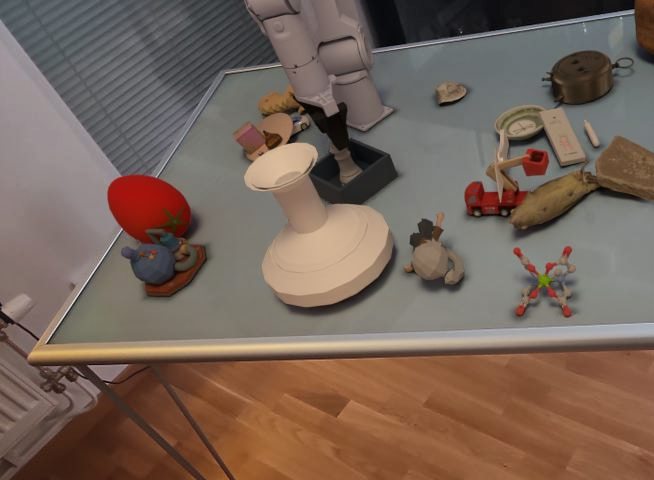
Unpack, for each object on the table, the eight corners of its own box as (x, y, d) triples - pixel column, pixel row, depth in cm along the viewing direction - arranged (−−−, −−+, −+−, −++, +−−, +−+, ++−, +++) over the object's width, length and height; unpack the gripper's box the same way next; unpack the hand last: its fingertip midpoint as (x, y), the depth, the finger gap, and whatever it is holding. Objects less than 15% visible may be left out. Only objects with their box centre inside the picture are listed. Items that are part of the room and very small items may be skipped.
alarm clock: (556, 113, 109) (644, 87, 109) (554, 84, 105) (645, 57, 105) (540, 85, 116) (622, 61, 116) (537, 57, 112) (622, 32, 112)
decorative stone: (711, 170, 90) (618, 166, 99) (706, 131, 85) (609, 131, 94) (683, 215, 86) (589, 206, 95) (677, 177, 81) (579, 172, 90)
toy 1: (261, 118, 137) (340, 78, 140) (272, 130, 128) (356, 87, 131) (248, 94, 133) (329, 54, 137) (258, 105, 124) (345, 62, 128)
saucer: (529, 110, 111) (527, 97, 110) (561, 129, 106) (560, 116, 104) (485, 135, 110) (483, 122, 108) (516, 155, 104) (514, 142, 102)
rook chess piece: (357, 191, 107) (339, 151, 101) (337, 188, 109) (319, 149, 103) (371, 175, 109) (354, 135, 103) (351, 173, 111) (333, 133, 105)
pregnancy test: (561, 167, 98) (561, 161, 97) (538, 116, 104) (539, 110, 103) (605, 157, 99) (606, 152, 98) (580, 108, 105) (581, 102, 104)
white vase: (274, 335, 89) (199, 234, 74) (280, 249, 102) (217, 148, 87) (405, 298, 88) (356, 187, 73) (395, 215, 101) (350, 107, 86)
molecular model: (523, 278, 85) (513, 236, 80) (580, 278, 83) (575, 235, 77) (513, 316, 81) (502, 276, 76) (573, 318, 79) (566, 276, 73)
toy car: (255, 148, 126) (249, 136, 124) (305, 120, 128) (300, 108, 126) (261, 154, 124) (254, 142, 122) (312, 125, 126) (306, 114, 124)
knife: (497, 121, 103) (503, 119, 102) (506, 147, 105) (511, 145, 105) (486, 173, 82) (493, 171, 81) (496, 203, 84) (504, 201, 84)
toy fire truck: (471, 203, 98) (456, 150, 91) (555, 202, 94) (547, 147, 86) (466, 217, 96) (450, 164, 89) (551, 216, 92) (542, 161, 84)
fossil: (433, 106, 118) (464, 113, 120) (437, 86, 116) (468, 93, 117) (433, 92, 124) (462, 98, 126) (436, 73, 122) (466, 80, 123)
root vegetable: (520, 232, 84) (508, 247, 89) (620, 176, 92) (604, 192, 97) (500, 202, 85) (488, 218, 89) (601, 148, 92) (586, 166, 97)
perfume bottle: (252, 172, 121) (236, 157, 117) (239, 139, 127) (223, 124, 124) (299, 134, 120) (284, 118, 116) (284, 103, 126) (269, 86, 122)
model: (179, 297, 100) (143, 254, 93) (136, 295, 102) (97, 254, 95) (215, 246, 106) (184, 203, 99) (173, 246, 109) (140, 204, 102)
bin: (312, 193, 110) (302, 172, 107) (360, 158, 114) (350, 137, 111) (349, 213, 104) (339, 191, 101) (398, 176, 108) (389, 153, 104)
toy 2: (421, 189, 91) (438, 230, 79) (467, 214, 95) (490, 257, 83) (387, 247, 95) (398, 294, 83) (432, 269, 99) (448, 317, 87)
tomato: (172, 186, 116) (219, 216, 111) (138, 235, 116) (183, 268, 110) (116, 148, 104) (164, 180, 99) (78, 204, 104) (125, 238, 99)
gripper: (340, 61, 88) (373, 144, 99) (307, 34, 97) (340, 113, 108) (297, 83, 87) (335, 164, 97) (267, 53, 96) (305, 131, 106)
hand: (335, 139), depth 102 cm, fingers open, 7 cm apart
